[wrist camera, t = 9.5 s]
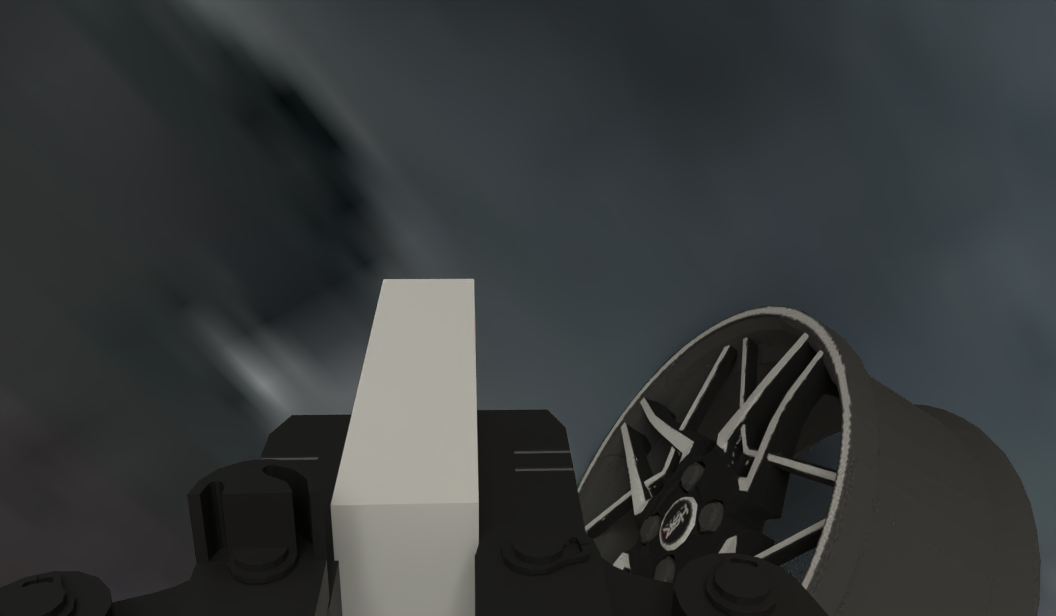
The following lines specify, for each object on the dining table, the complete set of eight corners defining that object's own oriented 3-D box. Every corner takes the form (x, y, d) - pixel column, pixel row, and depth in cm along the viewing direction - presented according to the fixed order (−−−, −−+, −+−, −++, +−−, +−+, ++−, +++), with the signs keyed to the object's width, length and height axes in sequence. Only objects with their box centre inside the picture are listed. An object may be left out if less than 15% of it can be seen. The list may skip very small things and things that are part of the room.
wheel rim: (750, 245, 45) (949, 463, 27) (890, 338, 48) (1163, 597, 29) (520, 546, 51) (553, 899, 32) (655, 616, 53) (760, 983, 35)
